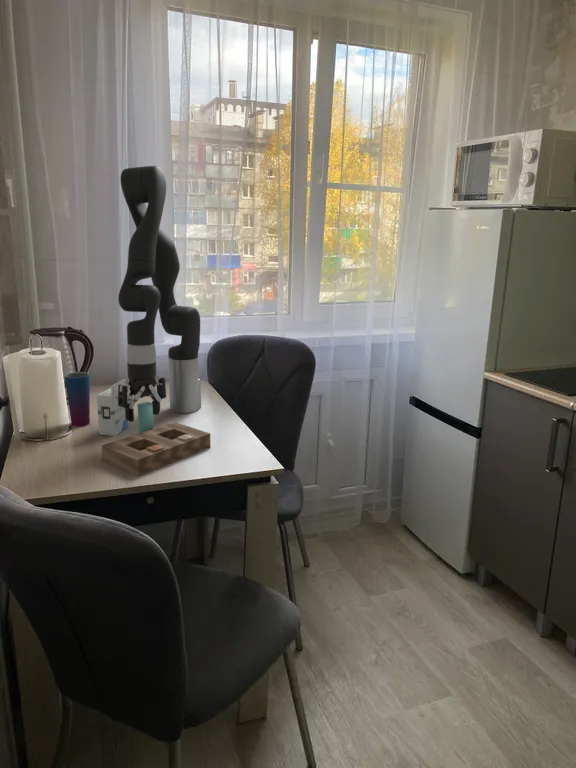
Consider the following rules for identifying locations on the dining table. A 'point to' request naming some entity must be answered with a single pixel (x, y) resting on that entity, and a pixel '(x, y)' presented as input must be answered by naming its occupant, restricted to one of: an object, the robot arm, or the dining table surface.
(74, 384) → the cup
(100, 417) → the ink box
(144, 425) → the plug
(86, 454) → the dining table surface
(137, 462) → the board
